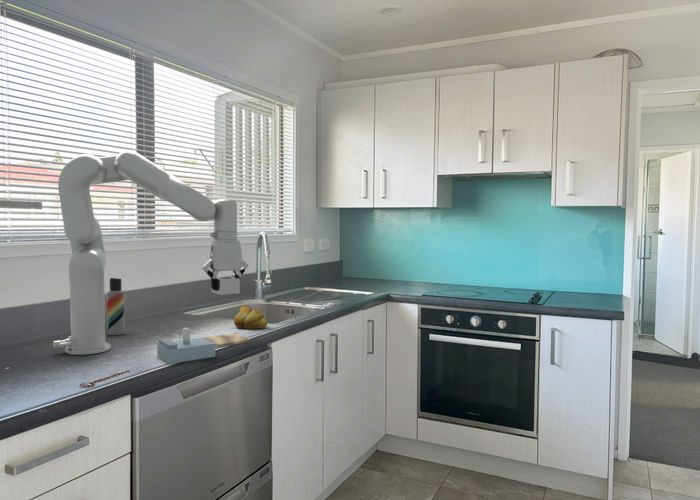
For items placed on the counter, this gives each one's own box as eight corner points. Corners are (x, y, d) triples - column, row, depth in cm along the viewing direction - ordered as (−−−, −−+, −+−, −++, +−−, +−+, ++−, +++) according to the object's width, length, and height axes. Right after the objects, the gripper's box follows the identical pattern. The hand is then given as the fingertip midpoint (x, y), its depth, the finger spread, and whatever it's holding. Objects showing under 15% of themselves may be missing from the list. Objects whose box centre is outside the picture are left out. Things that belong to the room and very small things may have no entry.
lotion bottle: (104, 333, 188) (103, 277, 187) (120, 331, 192) (120, 276, 191) (111, 336, 184) (110, 278, 183) (127, 333, 188) (127, 277, 187)
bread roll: (271, 327, 203) (272, 306, 203) (257, 332, 195) (257, 310, 194) (244, 324, 209) (244, 303, 208) (228, 328, 200) (228, 307, 200)
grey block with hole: (220, 294, 173) (220, 279, 173) (211, 292, 179) (211, 277, 179) (239, 293, 178) (239, 278, 177) (230, 290, 183) (230, 276, 183)
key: (118, 372, 144) (70, 387, 130) (118, 369, 144) (70, 384, 130) (134, 373, 142) (87, 389, 128) (134, 369, 142) (87, 385, 128)
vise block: (168, 363, 150) (168, 334, 150) (157, 356, 158) (157, 328, 158) (215, 356, 159) (215, 328, 158) (202, 349, 167) (202, 323, 166)
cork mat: (216, 347, 171) (216, 344, 171) (201, 340, 180) (201, 337, 180) (249, 342, 178) (249, 339, 178) (234, 335, 187) (234, 333, 187)
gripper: (205, 237, 169) (205, 292, 170) (254, 236, 179) (254, 288, 180) (196, 236, 175) (196, 290, 176) (244, 235, 185) (244, 286, 186)
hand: (225, 288), depth 178 cm, fingers closed on grey block with hole, 7 cm apart
